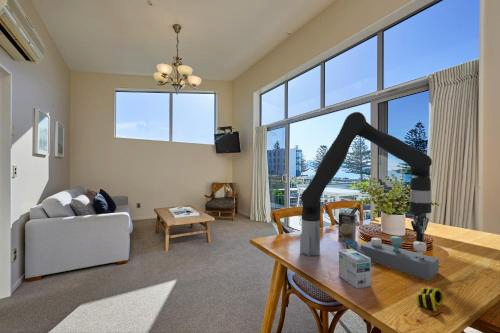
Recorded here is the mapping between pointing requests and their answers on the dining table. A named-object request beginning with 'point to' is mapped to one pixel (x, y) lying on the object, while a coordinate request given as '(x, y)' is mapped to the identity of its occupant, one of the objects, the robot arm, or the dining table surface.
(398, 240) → the middle knob
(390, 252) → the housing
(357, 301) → the dining table surface
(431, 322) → the dining table surface
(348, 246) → the label tape cartridge
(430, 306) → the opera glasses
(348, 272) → the light bulb box
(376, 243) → the inner knob
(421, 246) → the outer knob
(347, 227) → the coffee box
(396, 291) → the dining table surface
